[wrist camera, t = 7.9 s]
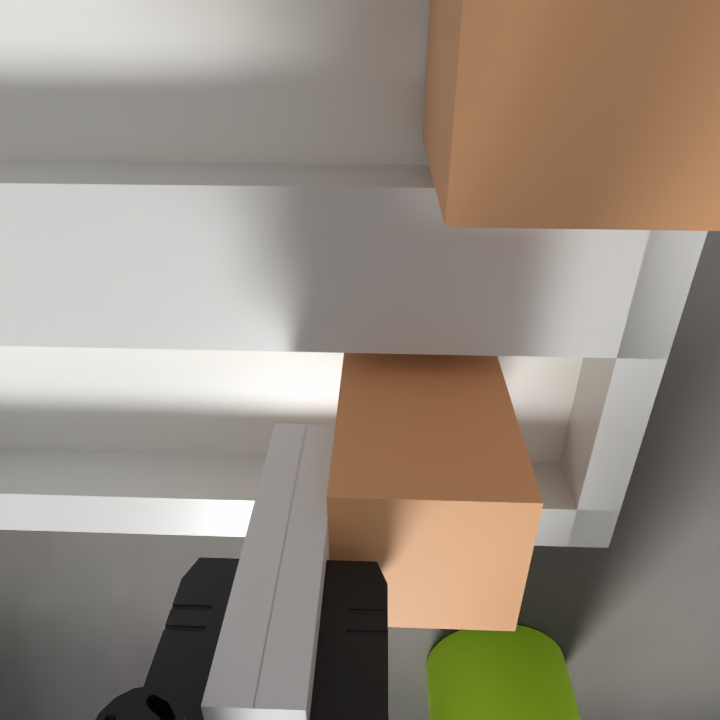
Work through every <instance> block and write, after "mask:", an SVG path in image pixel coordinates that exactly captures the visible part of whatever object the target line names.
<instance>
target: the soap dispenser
mask: <svg viewBox="0 0 720 720" xmlns="http://www.w3.org/2000/svg"><path fill="white" fill-rule="evenodd" d="M427 683H428V699H429V716H430V720H581V719H580V715H579V711H578V708H577V704H576V700H575V697H574V693H573V689H572V686H571V682H570V678H569V674H568V671H567V667H566V663H565V660H564V656H563V653H562V651H561V649H560V647H559V646H558V645H557V644H556V642H555V641H554V640H552V639H551V638H550V637H548V636H547V635H545V634H544V633H542V632H540V631H537V630H535V629H532V628H529V627H525V626H521V625H517V626H516V630H515V631H490V630H459V631H457V632H455V633H452V634H451V635H449V636H447V637H445V638H444V639H443V640H441V641H440V642H439V643H438V644H437V645H436V646H435V647H434V648H433V649H432V651H431V652H430V654H429V657H428V660H427Z"/></svg>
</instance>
